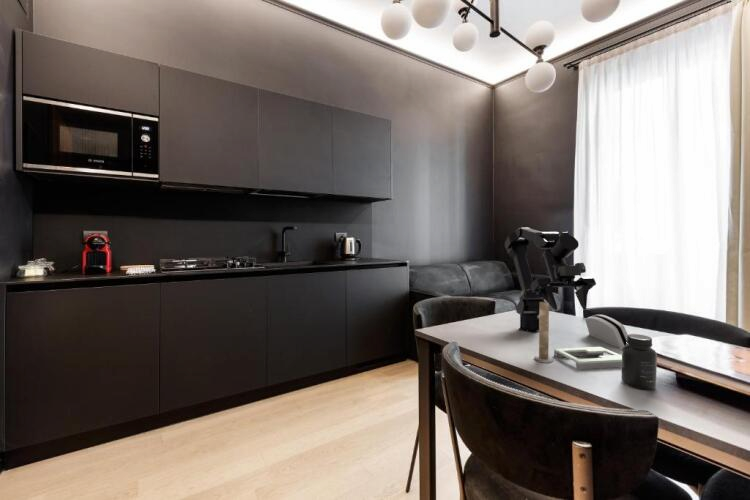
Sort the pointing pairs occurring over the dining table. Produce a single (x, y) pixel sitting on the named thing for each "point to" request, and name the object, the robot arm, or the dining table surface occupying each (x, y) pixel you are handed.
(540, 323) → the peg
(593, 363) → the keyhole board
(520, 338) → the dining table surface
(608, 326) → the grey curved piece
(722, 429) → the dining table surface
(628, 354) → the supplement bottle
